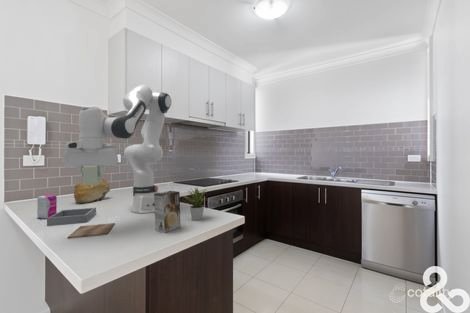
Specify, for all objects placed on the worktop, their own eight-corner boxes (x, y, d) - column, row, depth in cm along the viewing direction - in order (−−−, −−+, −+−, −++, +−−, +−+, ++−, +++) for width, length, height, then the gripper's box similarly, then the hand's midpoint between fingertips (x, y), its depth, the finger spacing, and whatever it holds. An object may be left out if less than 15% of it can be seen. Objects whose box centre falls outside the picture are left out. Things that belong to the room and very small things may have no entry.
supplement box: (46, 219, 115) (45, 197, 115) (37, 218, 116) (36, 196, 116) (57, 216, 121) (56, 195, 120) (48, 215, 122) (47, 194, 122)
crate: (96, 213, 124) (96, 207, 124) (86, 222, 109) (86, 215, 109) (62, 216, 119) (62, 210, 119) (47, 225, 104) (46, 218, 104)
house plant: (199, 212, 124) (199, 183, 124) (217, 217, 115) (217, 185, 115) (178, 218, 113) (177, 186, 113) (196, 224, 104) (196, 189, 104)
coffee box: (170, 224, 104) (170, 190, 104) (180, 227, 100) (180, 191, 100) (154, 230, 96) (153, 193, 96) (164, 233, 93) (163, 194, 92)
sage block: (100, 182, 100) (100, 164, 99) (97, 184, 95) (96, 165, 95) (87, 183, 98) (87, 165, 98) (83, 184, 93) (83, 165, 93)
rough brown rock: (99, 197, 175) (97, 178, 175) (113, 197, 167) (111, 177, 167) (66, 205, 154) (64, 183, 154) (80, 205, 147) (77, 182, 147)
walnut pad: (114, 224, 105) (114, 222, 105) (107, 234, 92) (107, 232, 92) (80, 227, 101) (80, 226, 101) (67, 238, 88) (67, 237, 88)
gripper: (119, 145, 102) (120, 175, 103) (67, 144, 96) (67, 176, 96) (116, 144, 96) (117, 176, 96) (60, 144, 90) (61, 178, 90)
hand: (92, 176), depth 96 cm, fingers closed on sage block, 5 cm apart
